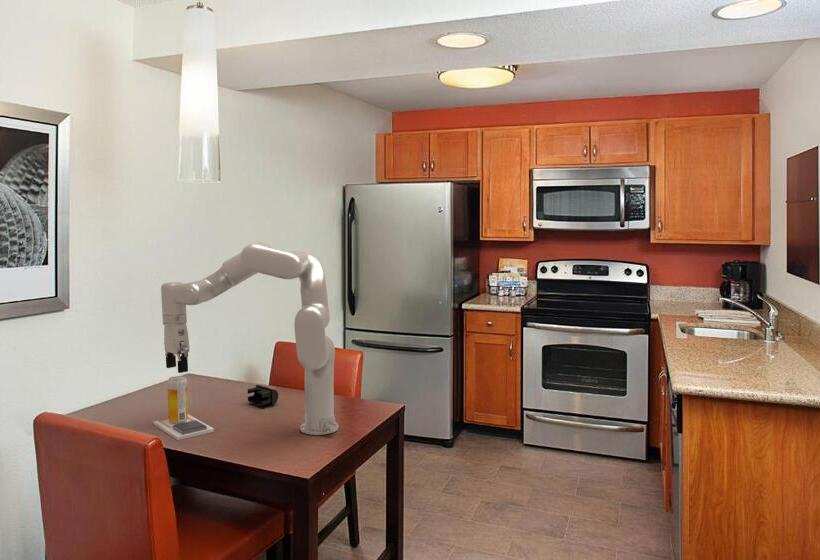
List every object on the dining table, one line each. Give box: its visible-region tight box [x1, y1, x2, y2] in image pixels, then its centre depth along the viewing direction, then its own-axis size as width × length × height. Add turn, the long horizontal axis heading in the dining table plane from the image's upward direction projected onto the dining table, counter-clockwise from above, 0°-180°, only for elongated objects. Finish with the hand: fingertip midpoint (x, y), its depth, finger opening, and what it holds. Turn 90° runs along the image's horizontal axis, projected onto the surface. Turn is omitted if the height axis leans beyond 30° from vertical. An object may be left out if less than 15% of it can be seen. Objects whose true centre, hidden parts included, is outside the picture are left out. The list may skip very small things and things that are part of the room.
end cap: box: [247, 384, 279, 410], centre depth 230 cm, size 10×7×7 cm
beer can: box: [167, 375, 189, 424], centre depth 206 cm, size 6×6×15 cm
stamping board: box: [153, 413, 215, 441], centre depth 203 cm, size 20×12×2 cm, turn 43°
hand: (177, 369), depth 205 cm, fingers open, 9 cm apart
